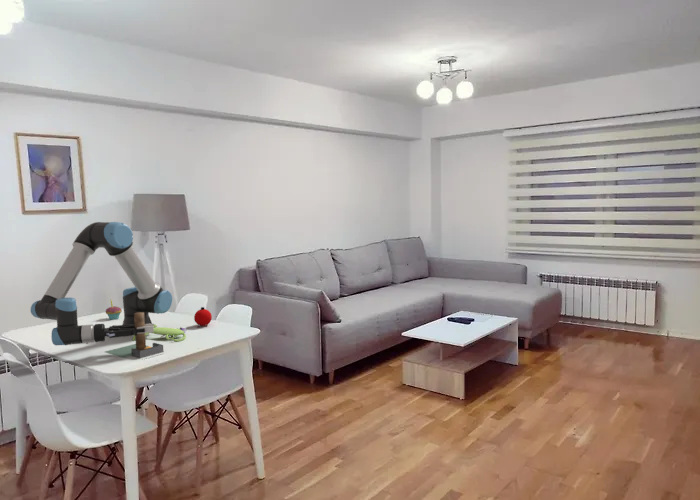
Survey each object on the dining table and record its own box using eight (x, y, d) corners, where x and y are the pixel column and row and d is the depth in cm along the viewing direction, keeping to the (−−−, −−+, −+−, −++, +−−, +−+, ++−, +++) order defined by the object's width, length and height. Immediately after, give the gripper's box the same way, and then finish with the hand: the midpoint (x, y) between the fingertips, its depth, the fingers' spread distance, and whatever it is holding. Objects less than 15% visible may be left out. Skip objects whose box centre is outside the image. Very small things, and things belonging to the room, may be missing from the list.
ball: (148, 351, 215) (145, 358, 217) (156, 349, 219) (153, 356, 220) (142, 345, 217) (140, 352, 218) (150, 343, 220) (148, 350, 222)
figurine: (142, 333, 258) (141, 323, 257) (194, 332, 258) (193, 321, 257) (126, 343, 239) (125, 332, 239) (182, 342, 239) (181, 331, 239)
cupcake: (117, 320, 287) (116, 299, 286) (102, 320, 288) (101, 299, 287) (124, 316, 296) (123, 296, 295) (110, 317, 296) (109, 296, 295)
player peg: (134, 349, 220) (132, 313, 219) (142, 347, 224) (140, 311, 222) (139, 351, 218) (137, 314, 217) (147, 348, 221) (146, 312, 220)
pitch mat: (104, 354, 222) (103, 351, 222) (137, 345, 235) (137, 343, 235) (124, 360, 213) (123, 357, 213) (158, 350, 226) (157, 348, 225)
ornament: (209, 327, 266) (208, 309, 265) (192, 327, 266) (191, 309, 266) (214, 323, 275) (213, 305, 274) (197, 323, 275) (196, 305, 274)
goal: (131, 357, 216) (131, 348, 215) (154, 351, 224) (154, 342, 224) (140, 360, 212) (139, 351, 211) (163, 353, 221) (163, 344, 220)
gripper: (97, 337, 222) (154, 331, 230) (91, 347, 206) (153, 341, 214) (96, 320, 222) (153, 315, 229) (90, 329, 206) (152, 323, 213)
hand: (153, 327), depth 222 cm, fingers closed on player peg, 4 cm apart
